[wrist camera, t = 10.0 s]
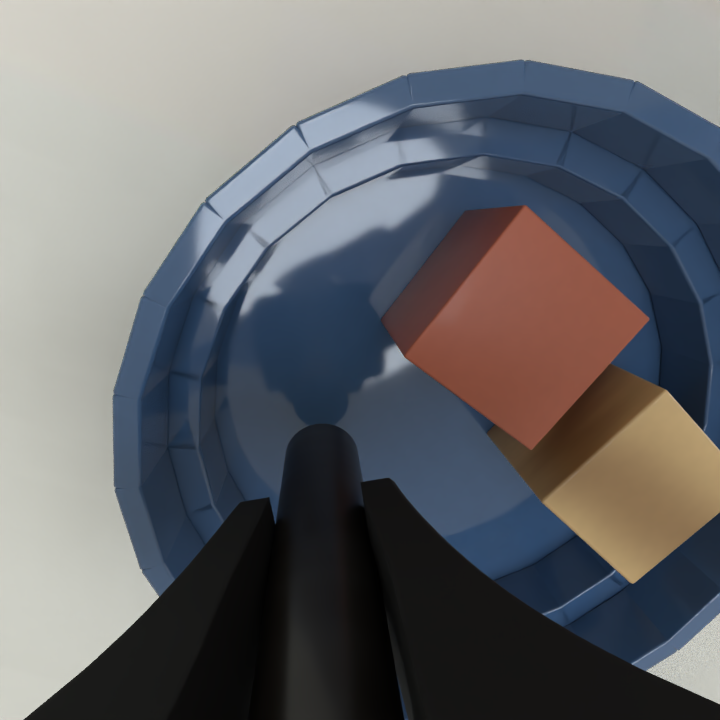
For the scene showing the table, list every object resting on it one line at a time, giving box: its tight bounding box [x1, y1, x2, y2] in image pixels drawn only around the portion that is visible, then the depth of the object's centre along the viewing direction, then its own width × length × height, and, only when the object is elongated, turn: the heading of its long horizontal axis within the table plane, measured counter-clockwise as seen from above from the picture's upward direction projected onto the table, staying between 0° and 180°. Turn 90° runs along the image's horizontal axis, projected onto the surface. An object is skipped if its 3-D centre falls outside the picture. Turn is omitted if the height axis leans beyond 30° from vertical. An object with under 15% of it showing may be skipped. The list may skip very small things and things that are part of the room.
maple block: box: [487, 363, 720, 584], centre depth 14 cm, size 4×4×4 cm
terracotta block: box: [381, 205, 649, 450], centre depth 12 cm, size 4×4×4 cm
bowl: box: [113, 60, 720, 720], centre depth 13 cm, size 17×17×4 cm
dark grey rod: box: [248, 424, 405, 720], centre depth 8 cm, size 2×2×9 cm
